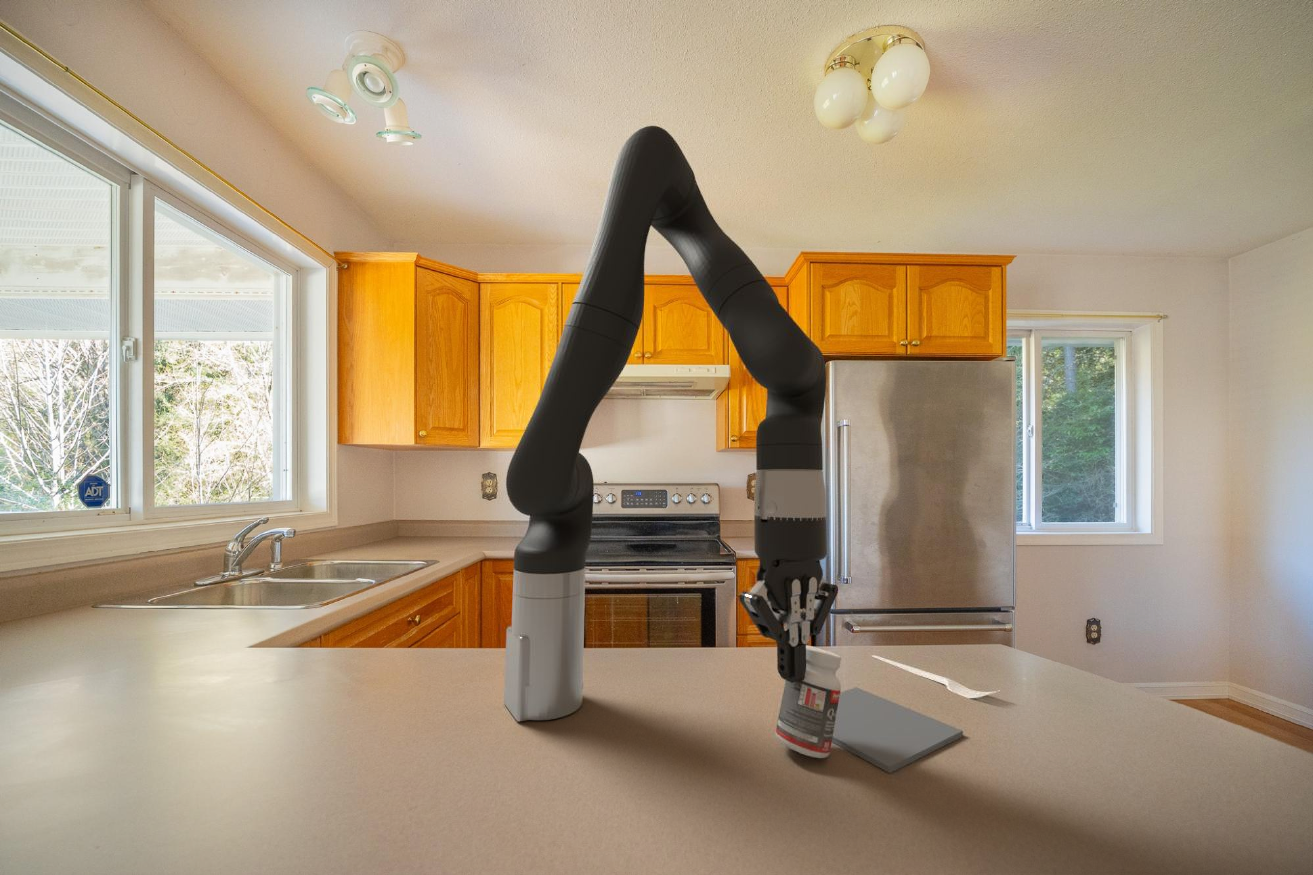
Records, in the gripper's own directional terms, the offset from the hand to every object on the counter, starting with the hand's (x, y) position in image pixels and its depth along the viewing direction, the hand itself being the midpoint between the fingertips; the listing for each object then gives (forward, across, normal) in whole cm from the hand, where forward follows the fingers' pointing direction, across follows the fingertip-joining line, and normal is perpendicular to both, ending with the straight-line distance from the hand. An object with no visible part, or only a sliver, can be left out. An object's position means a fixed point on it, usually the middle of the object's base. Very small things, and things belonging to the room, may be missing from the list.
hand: (791, 679), depth 52 cm
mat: (+8, -14, -1) cm, 16 cm away
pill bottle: (+8, -2, 0) cm, 8 cm away
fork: (+9, -34, -6) cm, 36 cm away
